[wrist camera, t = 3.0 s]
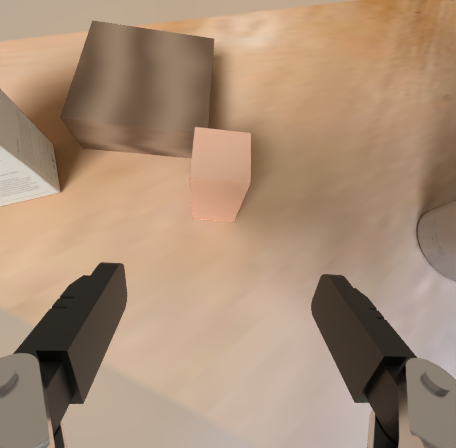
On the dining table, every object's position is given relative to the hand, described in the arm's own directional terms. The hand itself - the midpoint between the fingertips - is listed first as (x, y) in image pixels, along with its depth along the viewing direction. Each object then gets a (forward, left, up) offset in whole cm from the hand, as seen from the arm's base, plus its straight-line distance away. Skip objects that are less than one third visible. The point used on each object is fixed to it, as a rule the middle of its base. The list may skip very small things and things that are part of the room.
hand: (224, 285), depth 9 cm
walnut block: (+8, -22, -15) cm, 28 cm away
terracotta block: (0, -10, -14) cm, 17 cm away
